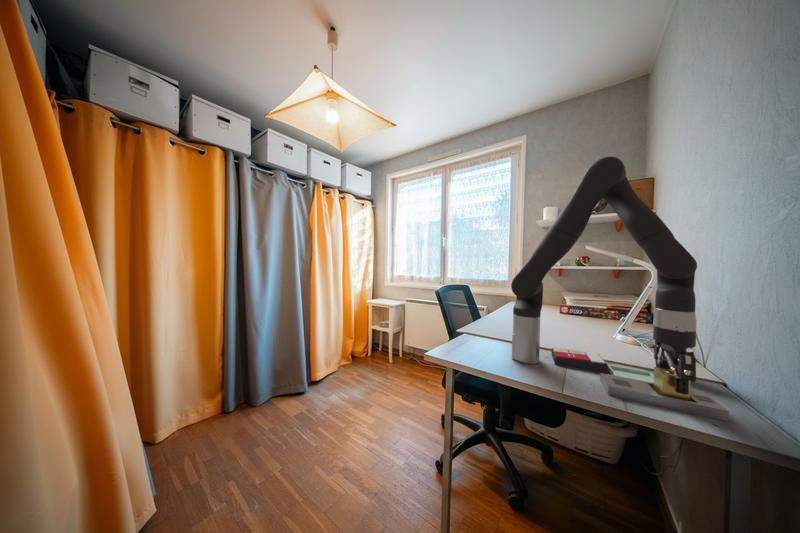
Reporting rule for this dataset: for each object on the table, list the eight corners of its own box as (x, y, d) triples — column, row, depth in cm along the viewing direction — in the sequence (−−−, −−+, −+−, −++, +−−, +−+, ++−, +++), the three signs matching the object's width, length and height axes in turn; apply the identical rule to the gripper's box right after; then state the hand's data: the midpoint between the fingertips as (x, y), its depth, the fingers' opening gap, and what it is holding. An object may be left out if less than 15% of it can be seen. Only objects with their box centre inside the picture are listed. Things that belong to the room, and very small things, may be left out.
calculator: (551, 346, 95) (598, 351, 88) (551, 356, 95) (598, 362, 88) (554, 355, 85) (607, 362, 78) (555, 367, 85) (608, 374, 79)
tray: (617, 382, 73) (617, 378, 73) (606, 368, 83) (606, 364, 83) (668, 393, 67) (668, 387, 67) (650, 376, 77) (650, 371, 77)
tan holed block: (661, 403, 63) (663, 373, 62) (653, 394, 67) (654, 366, 67) (689, 409, 60) (690, 378, 60) (678, 399, 64) (679, 370, 64)
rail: (608, 394, 66) (608, 385, 66) (599, 380, 74) (600, 372, 74) (728, 421, 56) (728, 410, 56) (703, 401, 64) (704, 392, 64)
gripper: (643, 318, 71) (642, 371, 71) (667, 331, 58) (666, 394, 59) (679, 321, 67) (677, 377, 68) (713, 335, 55) (711, 403, 55)
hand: (672, 385), depth 63 cm, fingers open, 8 cm apart
